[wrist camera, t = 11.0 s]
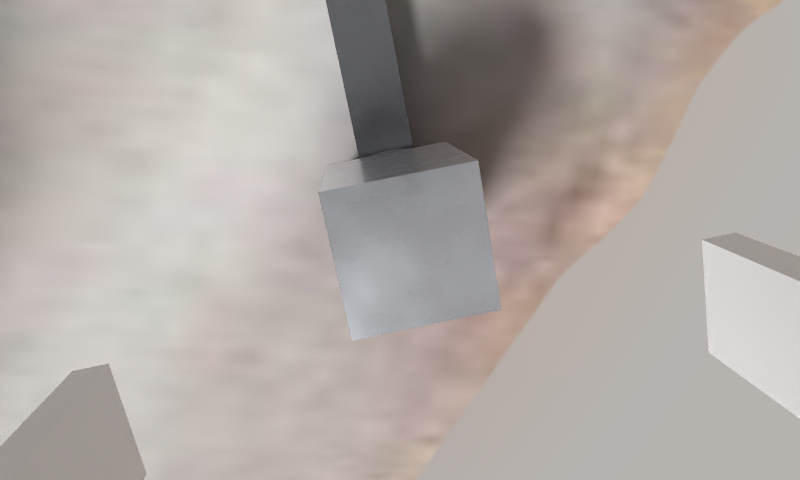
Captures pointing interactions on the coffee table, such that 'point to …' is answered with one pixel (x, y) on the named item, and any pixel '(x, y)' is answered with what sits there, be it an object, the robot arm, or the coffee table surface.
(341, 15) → the ratchet
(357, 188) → the light grey block
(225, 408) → the coffee table surface
